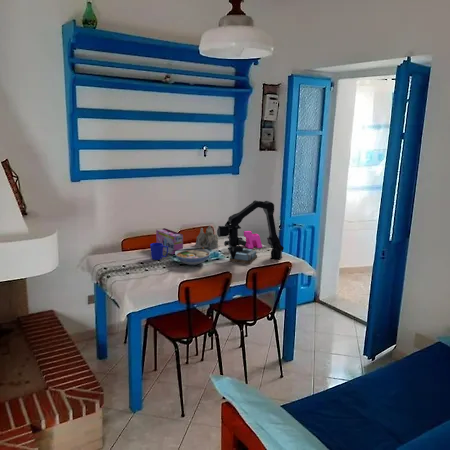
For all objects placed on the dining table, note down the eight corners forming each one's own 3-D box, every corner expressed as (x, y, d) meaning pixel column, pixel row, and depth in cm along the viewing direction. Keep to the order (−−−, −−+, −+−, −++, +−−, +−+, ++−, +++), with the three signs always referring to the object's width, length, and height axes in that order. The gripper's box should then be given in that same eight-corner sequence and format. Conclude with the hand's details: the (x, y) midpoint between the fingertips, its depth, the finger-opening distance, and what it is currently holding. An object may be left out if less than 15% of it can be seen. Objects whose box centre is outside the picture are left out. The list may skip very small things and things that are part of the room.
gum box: (155, 247, 324) (154, 229, 320) (164, 245, 329) (163, 227, 325) (174, 255, 306) (173, 236, 303) (183, 253, 311) (183, 234, 308)
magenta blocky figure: (243, 244, 334) (243, 231, 332) (256, 243, 337) (256, 230, 334) (248, 249, 323) (249, 235, 320) (262, 248, 326) (262, 234, 323)
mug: (166, 261, 293) (166, 246, 290) (148, 260, 295) (148, 245, 293) (170, 257, 301) (170, 243, 298) (153, 256, 303) (152, 242, 301)
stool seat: (257, 258, 302) (257, 250, 301) (249, 264, 290) (250, 255, 289) (237, 255, 308) (237, 247, 306) (229, 261, 295) (230, 253, 294)
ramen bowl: (176, 270, 276) (176, 258, 274) (170, 259, 297) (170, 247, 295) (215, 267, 282) (215, 255, 280) (207, 256, 304) (207, 245, 302)
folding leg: (251, 259, 292) (251, 253, 291) (250, 260, 289) (250, 255, 289) (232, 256, 297) (232, 251, 296) (230, 258, 294) (230, 252, 293)
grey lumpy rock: (194, 243, 335) (195, 224, 331) (216, 243, 338) (217, 224, 334) (197, 250, 320) (198, 230, 316) (219, 250, 324) (221, 230, 319)
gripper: (250, 237, 282) (250, 261, 285) (239, 231, 299) (239, 254, 303) (234, 239, 278) (233, 263, 282) (224, 232, 295) (223, 255, 299)
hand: (233, 258), depth 291 cm, fingers closed
